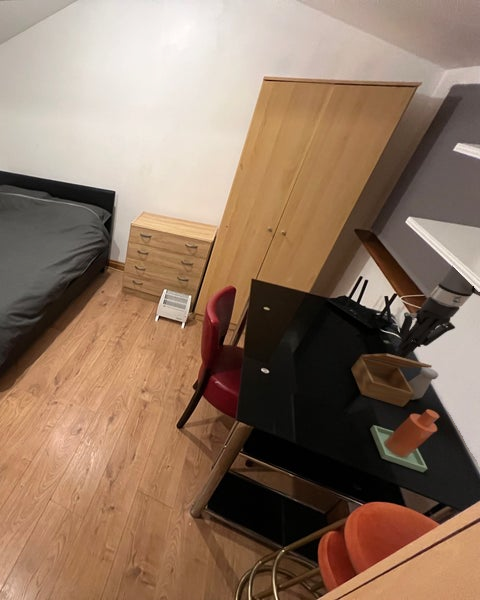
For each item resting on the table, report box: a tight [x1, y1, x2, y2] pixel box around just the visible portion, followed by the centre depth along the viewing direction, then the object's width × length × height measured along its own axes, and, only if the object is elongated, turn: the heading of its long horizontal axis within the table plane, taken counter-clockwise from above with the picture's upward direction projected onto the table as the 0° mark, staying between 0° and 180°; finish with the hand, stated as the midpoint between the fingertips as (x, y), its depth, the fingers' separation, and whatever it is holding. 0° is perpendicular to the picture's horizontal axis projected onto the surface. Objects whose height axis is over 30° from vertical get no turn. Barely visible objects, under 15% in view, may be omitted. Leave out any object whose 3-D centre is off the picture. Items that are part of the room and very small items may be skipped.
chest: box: [350, 356, 415, 408], centre depth 120 cm, size 15×13×7 cm
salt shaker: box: [407, 368, 439, 401], centre depth 116 cm, size 6×6×13 cm
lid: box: [360, 353, 433, 369], centre depth 117 cm, size 15×13×1 cm
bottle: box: [384, 409, 440, 457], centre depth 95 cm, size 6×6×17 cm
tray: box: [369, 424, 428, 473], centre depth 100 cm, size 11×10×2 cm
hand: (399, 356), depth 115 cm, fingers closed
